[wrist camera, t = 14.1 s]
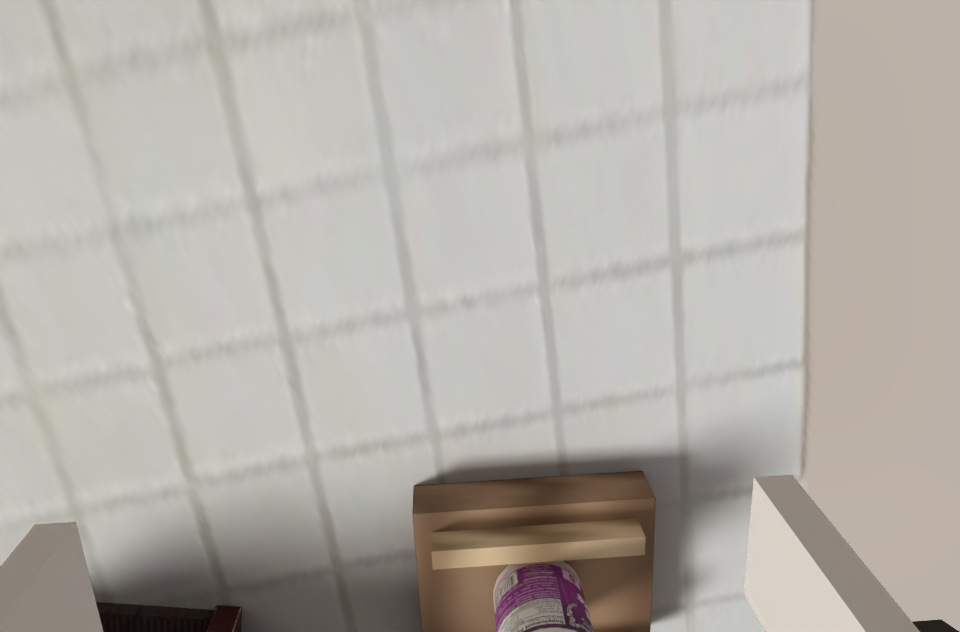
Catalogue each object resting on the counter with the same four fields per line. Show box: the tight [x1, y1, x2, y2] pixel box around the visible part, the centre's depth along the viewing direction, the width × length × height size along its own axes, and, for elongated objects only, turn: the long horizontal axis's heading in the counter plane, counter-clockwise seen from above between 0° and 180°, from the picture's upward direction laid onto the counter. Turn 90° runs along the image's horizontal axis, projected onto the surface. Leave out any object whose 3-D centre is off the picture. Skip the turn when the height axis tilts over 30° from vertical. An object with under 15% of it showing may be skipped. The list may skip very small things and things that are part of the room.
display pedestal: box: [413, 471, 655, 632], centre depth 48 cm, size 14×12×5 cm
